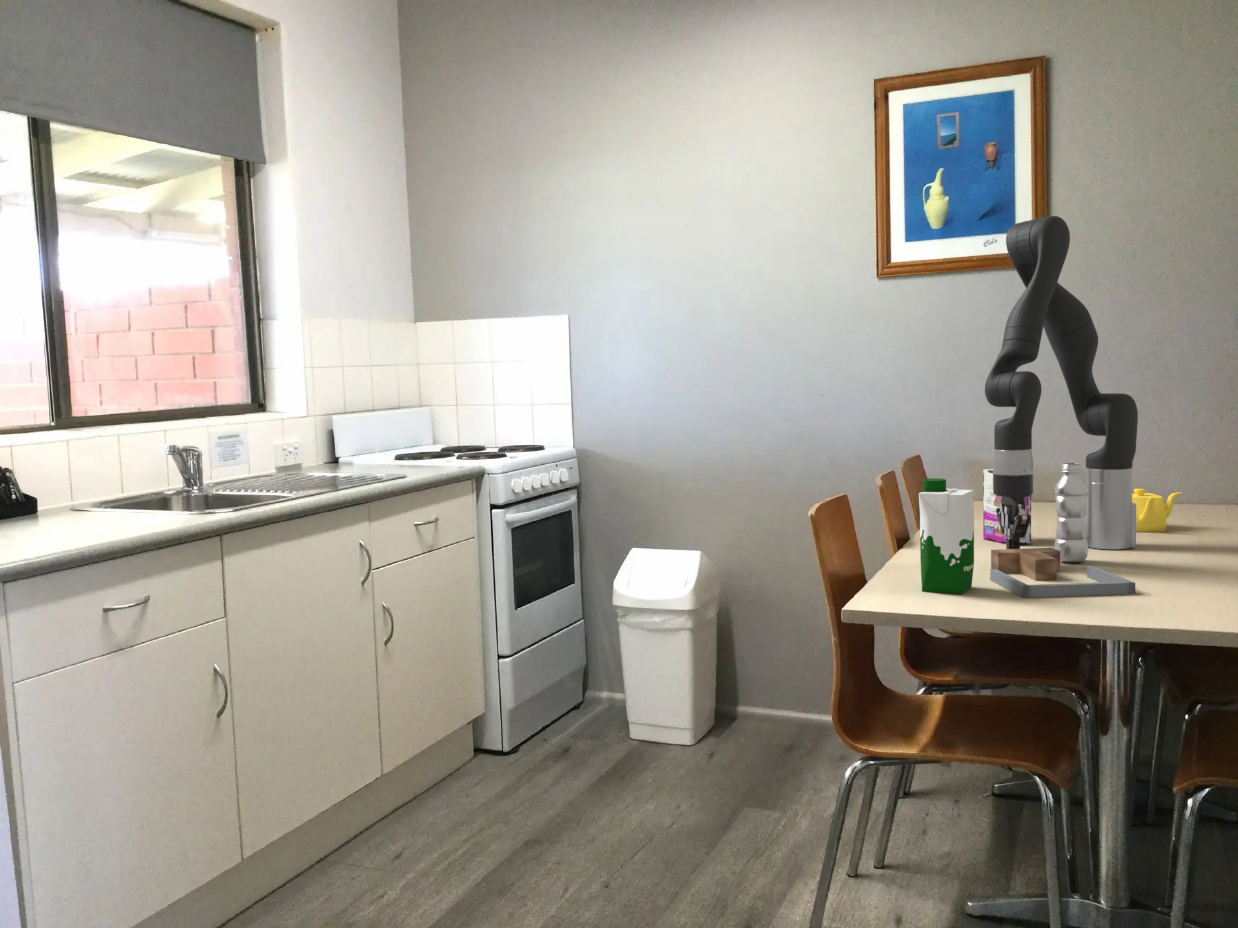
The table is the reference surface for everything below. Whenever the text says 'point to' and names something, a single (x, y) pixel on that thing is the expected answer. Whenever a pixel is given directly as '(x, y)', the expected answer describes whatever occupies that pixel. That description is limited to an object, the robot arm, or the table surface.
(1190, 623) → the table surface
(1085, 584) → the bay frame
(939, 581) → the soya milk
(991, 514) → the candy bar box
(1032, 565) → the t block
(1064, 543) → the plastic bottle
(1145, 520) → the teapot
